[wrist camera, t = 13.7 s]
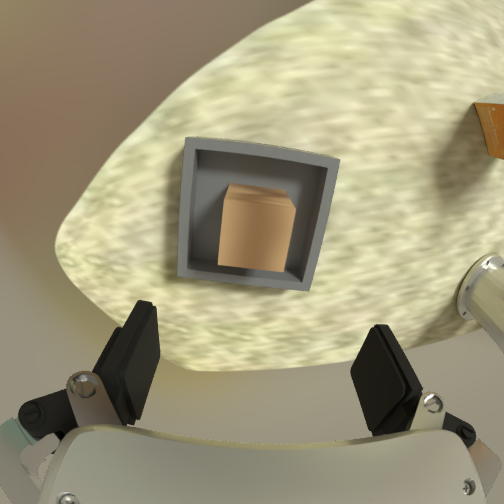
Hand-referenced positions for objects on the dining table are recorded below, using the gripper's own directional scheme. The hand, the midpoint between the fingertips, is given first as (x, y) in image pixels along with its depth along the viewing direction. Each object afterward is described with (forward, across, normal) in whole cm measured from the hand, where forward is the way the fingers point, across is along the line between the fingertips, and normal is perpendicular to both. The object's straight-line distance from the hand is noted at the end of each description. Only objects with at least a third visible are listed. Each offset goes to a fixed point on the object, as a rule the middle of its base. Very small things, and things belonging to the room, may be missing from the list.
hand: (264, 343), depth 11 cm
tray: (+20, 0, 0) cm, 20 cm away
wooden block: (+19, 0, 0) cm, 19 cm away
